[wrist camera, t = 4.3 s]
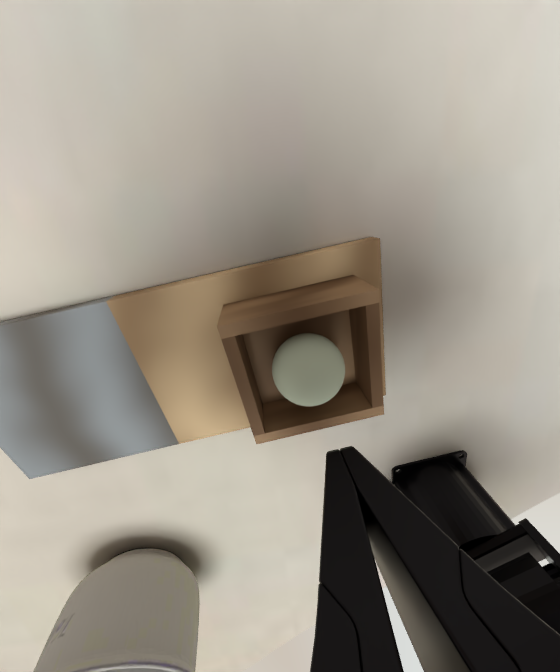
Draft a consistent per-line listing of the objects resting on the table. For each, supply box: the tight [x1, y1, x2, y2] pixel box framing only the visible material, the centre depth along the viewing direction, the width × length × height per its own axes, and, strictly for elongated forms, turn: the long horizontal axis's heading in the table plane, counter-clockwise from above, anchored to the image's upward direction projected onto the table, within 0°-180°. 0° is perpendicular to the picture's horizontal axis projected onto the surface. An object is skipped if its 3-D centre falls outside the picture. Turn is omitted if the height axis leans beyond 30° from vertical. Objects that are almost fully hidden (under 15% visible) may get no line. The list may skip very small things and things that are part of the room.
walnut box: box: [217, 275, 384, 444], centre depth 14 cm, size 7×7×3 cm
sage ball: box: [272, 333, 345, 406], centre depth 13 cm, size 4×4×4 cm
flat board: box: [0, 237, 386, 479], centre depth 16 cm, size 24×10×1 cm, turn 102°
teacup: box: [34, 548, 199, 672], centre depth 22 cm, size 14×11×8 cm
